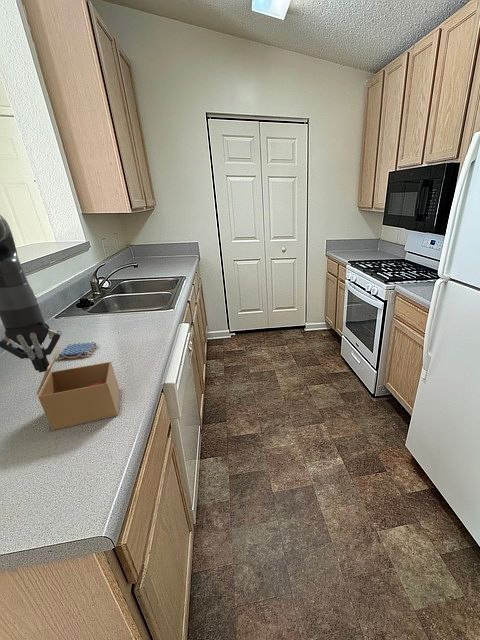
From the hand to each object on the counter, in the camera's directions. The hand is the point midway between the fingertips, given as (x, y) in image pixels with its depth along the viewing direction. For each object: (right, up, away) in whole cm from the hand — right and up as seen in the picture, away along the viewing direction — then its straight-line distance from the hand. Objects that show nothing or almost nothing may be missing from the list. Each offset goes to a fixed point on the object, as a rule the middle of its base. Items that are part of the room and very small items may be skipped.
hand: (43, 370), depth 83 cm
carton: (+6, -11, +8) cm, 15 cm away
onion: (+6, -9, +8) cm, 14 cm away
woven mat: (-19, +5, +42) cm, 46 cm away
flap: (+1, 0, +1) cm, 1 cm away
